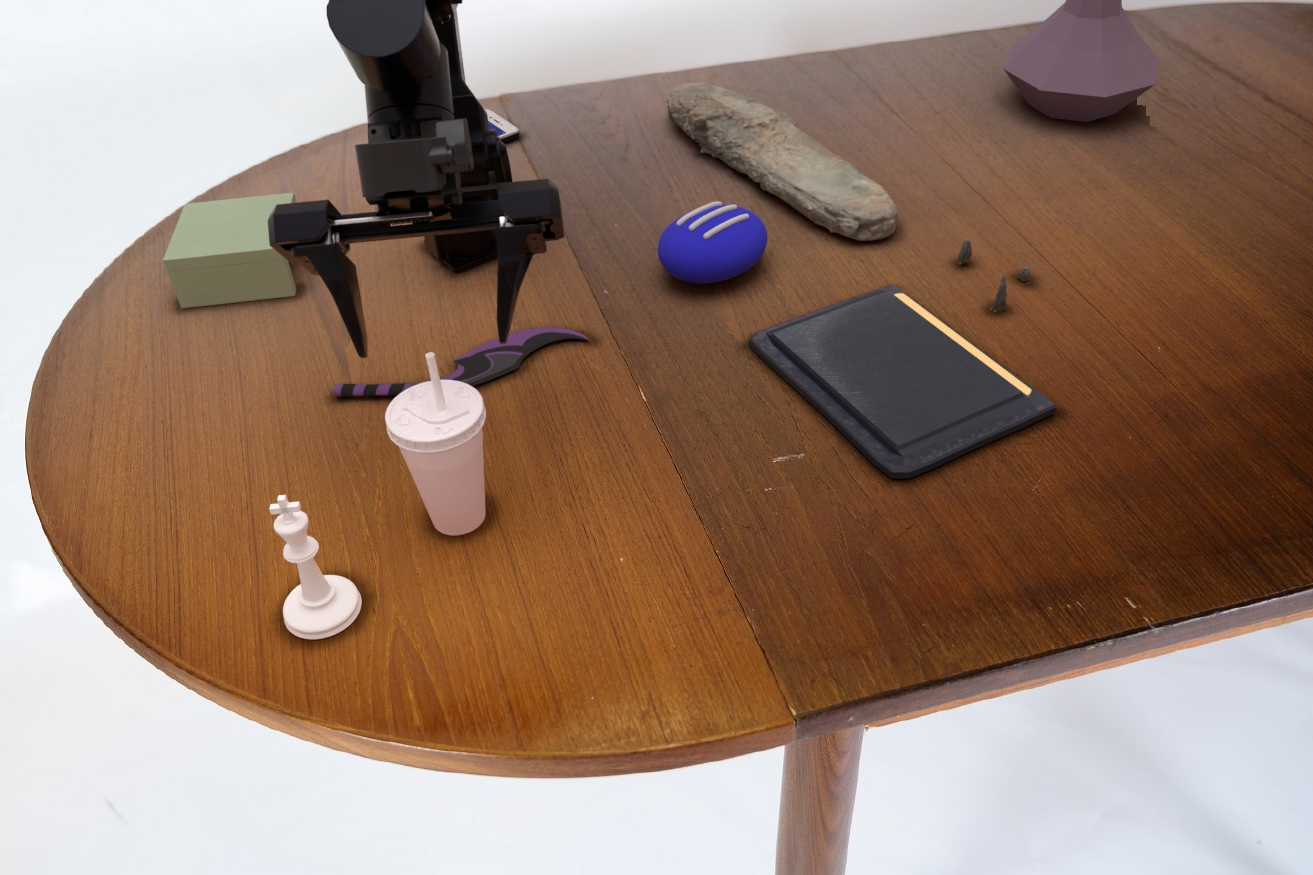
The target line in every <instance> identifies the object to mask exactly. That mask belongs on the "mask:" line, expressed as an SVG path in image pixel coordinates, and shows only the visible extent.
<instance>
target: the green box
mask: <svg viewBox="0 0 1313 875" xmlns="http://www.w3.org/2000/svg"><path fill="white" fill-rule="evenodd" d="M287 203H298V202H297V198H296V195H295V192H285V193H284V192H283V193H274V194H265V195H255V196H248V197H246V196H245V197H237V198H227V199H218V200H208V201H200V202H199V201H198V202H190V203H184V205H183V208H182V210H181V212H180V215H179V218H178V221H177V223H176V226H175V228H174V231H173V233H172V236H171V239H170V241H169V244H168V246H167V249H166V251H165V253H164V256H163V258H162V263H163V265H164V267H165V270H166V272H167V275H168V277H169V280H170V282H171V285H172V288H173V291H174V293H175V295H176V298H177V301H178V303H179V306H180V308H181V309H189V308H197V307H198V308H199V307H208V306H217V305H224V304H225V305H226V304H235V303H245V302H252V301H262V300H270V299H280V298H289V297H295V296H296V293H297V289H298V288H297V286H296V282H295V279H294V276H293V272H292V269H291V265H290V262H289V261H288V260H287V259H285V258H284V257H283V256H282V255H281V254H279V253H278V252H277V251H276V250H275V249H273V248H272V247H271V246H270V244H269V232H268V218H269V215H270V213H271V212H272V211H273V209H274V208H275V206H276V205H277V204H287Z"/></svg>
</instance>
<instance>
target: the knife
mask: <svg viewBox="0 0 1313 875" xmlns="http://www.w3.org/2000/svg"><path fill="white" fill-rule="evenodd" d="M569 339H573V340H584V341H589V342H590V341H591V339H589V338H588V337H587V336H586V335H585V334H583V333H581V332H578V331H575V330H572V329H569V328H562V327H553V326H552V327H550V326H549V327H548V326H547V327H546V326H545V327H534V328H528V329H524V330H523V329H522V330H519V331H515V332H511V333H509V335H508V339H507V343H506V344H500V342H499V337H497V338H494V339H492V340H490V341H487V342H485V343H483V344H481V345H479V346H476V347H475V348H473V349H471V350H470V351H467V352H466V353H464V354H462V355H461V356H459V357H457V358H456V359H454V360H453V363H455V365H457V369H456V370H455V371H453V372H451V373H449V374H447V375H446V376H444V377H440V380H455V381H460V382H463V383H466V384H468V385H470V386H472V387H474V386H476V385H479V384H483V383H486V382H488V381H491V380H493V379H495V378H498V377H501V376H503V375H506V374H509V373H510V372H512V371H515V370H517V369H518V368H520V366H521V364H522V361H523V360H524V358H526V357H527V356H528V355H529V354H530V353H532V352H534V351H535V350H537V349H539V348H540V347H543V346H545V345H547V344H551V343H553V342H557V341H561V340H569ZM428 381H431V379H430V380H424V381H423V380H422V381H416V382H415V381H414V382H402V383H401V382H398V383H336V384H334V386H333V388H332V393H333V395H334V396H336V397H370V396H373V397H374V396H375V397H376V396H398V395H399V394H400V393H402V392H403V391H405V390H406V389H408V388H410V387H412V386H414V385H417V384H420V383H423V382H428Z"/></svg>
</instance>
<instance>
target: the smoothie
mask: <svg viewBox="0 0 1313 875" xmlns="http://www.w3.org/2000/svg"><path fill="white" fill-rule="evenodd" d="M425 360H426V365H427V369H428V373H429V377H430V378H429V379H430V380H431V381H430V380H427V381H428V382H423V383H420V384H417V385H414V386H412V387H410V388H408V389H406V390H405V391H403V392H402V393H400V394H399V395H395V397H394V398H393V399H392V400H391V401H390V403H389V404H388V406H387V408H386V410H385V414H384V420H385V425H386V433H387V435H388V437H389V439H390V440H391V441H392V443H393V444H395V445H396V446H397V447H398V448H399V451H400V453H401V456H402V457H403V459H404V462H405V464H406V466H407V469H408V470H409V472H410V475H411V478H412V480H413V482H414V485H415V486H416V488H417V491H418V493H419V495H420V497H421V500H422V502H423V505H424V506H425V509H426V511H427V513H428V516H429V518H430V521H431V523H432V525H433V527H434V529H436V531H437V532H440V533H441V534H443V535H448V536H462V535H466V534H470V533H471V532H473V531H475V530H476V529H478V528H479V527H480V526H481V525H482V524H483V523H484V521H485V519H486V516H487V515H486V514H487V513H486V488H485V486H486V485H485V465H484V461H485V460H484V442H483V441H484V440H483V439H484V437H483V436H484V435H483V426H484V425H485V421H486V417H487V411H486V407H485V405H484V399H483V396H482V394H481V393H480V392H479V391H478V389H476V388H475V387H474V386H470V385H468V384H466V383H463V382H460V381H455V380H440V378H441V376H440V373H439V369H438V364H437V360H436V355H435V353H434V352H431V351H429V352H427V353H425Z"/></svg>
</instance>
